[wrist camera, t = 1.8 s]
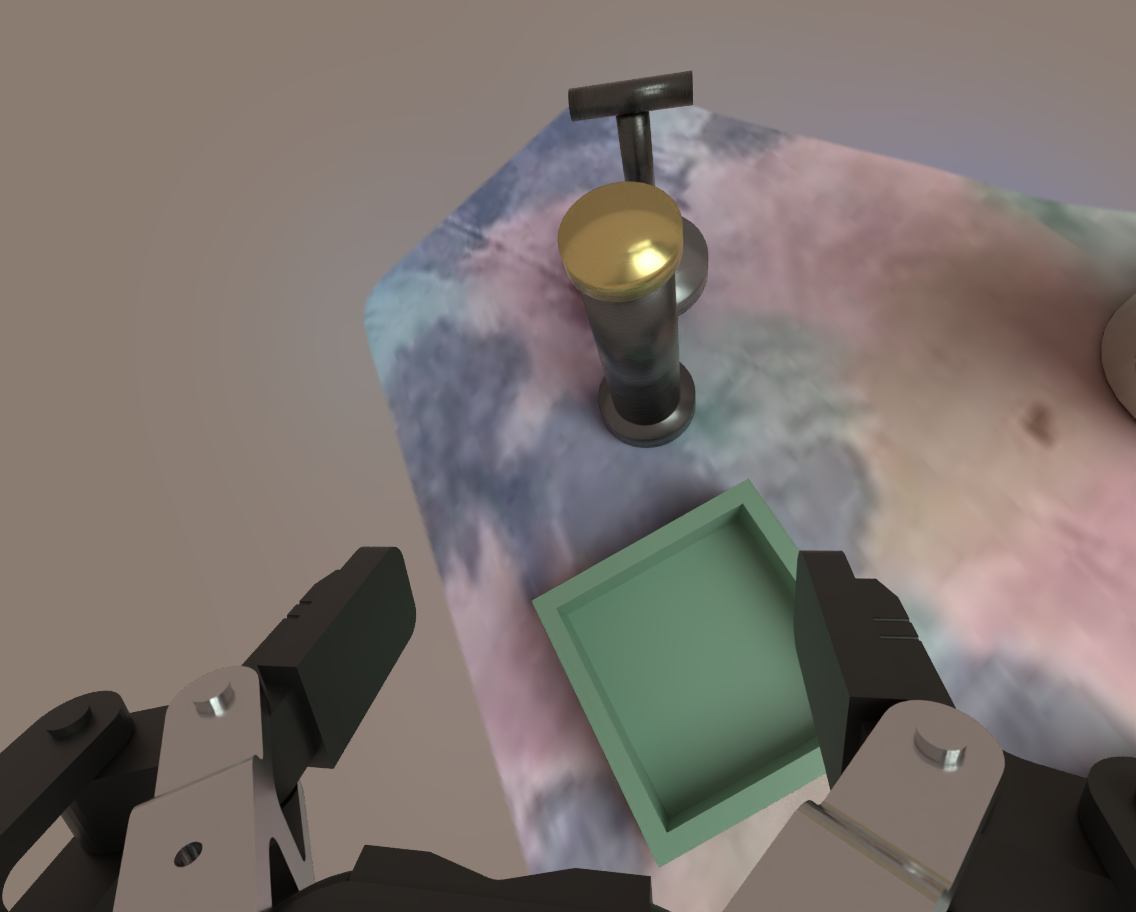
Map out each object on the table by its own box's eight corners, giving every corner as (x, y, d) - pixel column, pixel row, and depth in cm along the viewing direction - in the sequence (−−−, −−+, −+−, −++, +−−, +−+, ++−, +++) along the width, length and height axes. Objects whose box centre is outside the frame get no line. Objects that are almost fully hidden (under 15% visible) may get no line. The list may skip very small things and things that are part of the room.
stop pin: (664, 348, 32) (646, 149, 20) (713, 417, 30) (725, 243, 18) (585, 392, 32) (522, 219, 20) (630, 464, 30) (588, 320, 18)
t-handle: (593, 249, 35) (553, 77, 25) (705, 239, 34) (709, 53, 24) (589, 354, 33) (543, 210, 23) (709, 347, 32) (716, 191, 22)
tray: (743, 499, 29) (748, 478, 26) (892, 716, 24) (918, 720, 21) (547, 609, 28) (531, 600, 26) (662, 846, 24) (658, 867, 21)
